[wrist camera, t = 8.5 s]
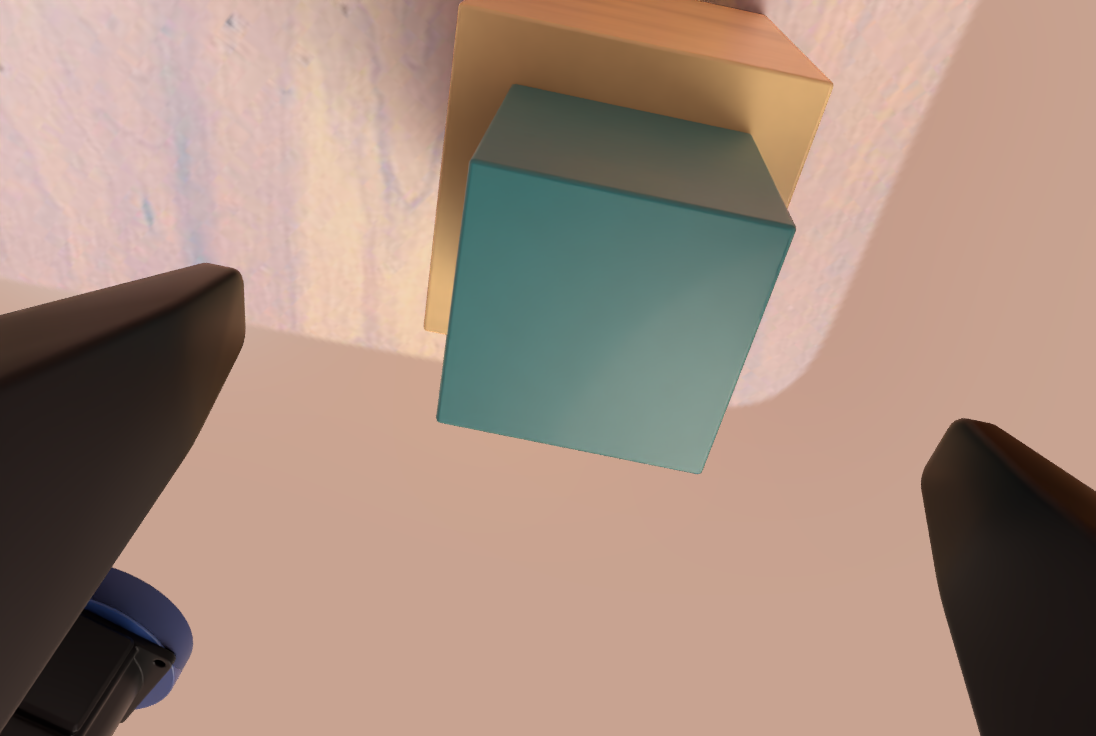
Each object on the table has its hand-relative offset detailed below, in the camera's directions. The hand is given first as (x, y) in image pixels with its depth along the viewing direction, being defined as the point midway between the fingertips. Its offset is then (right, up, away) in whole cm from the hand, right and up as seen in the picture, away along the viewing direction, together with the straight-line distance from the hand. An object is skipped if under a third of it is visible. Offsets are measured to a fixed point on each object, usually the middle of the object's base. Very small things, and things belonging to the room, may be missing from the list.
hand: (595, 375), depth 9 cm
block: (0, +3, +4) cm, 5 cm away
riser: (+1, +6, +10) cm, 12 cm away
